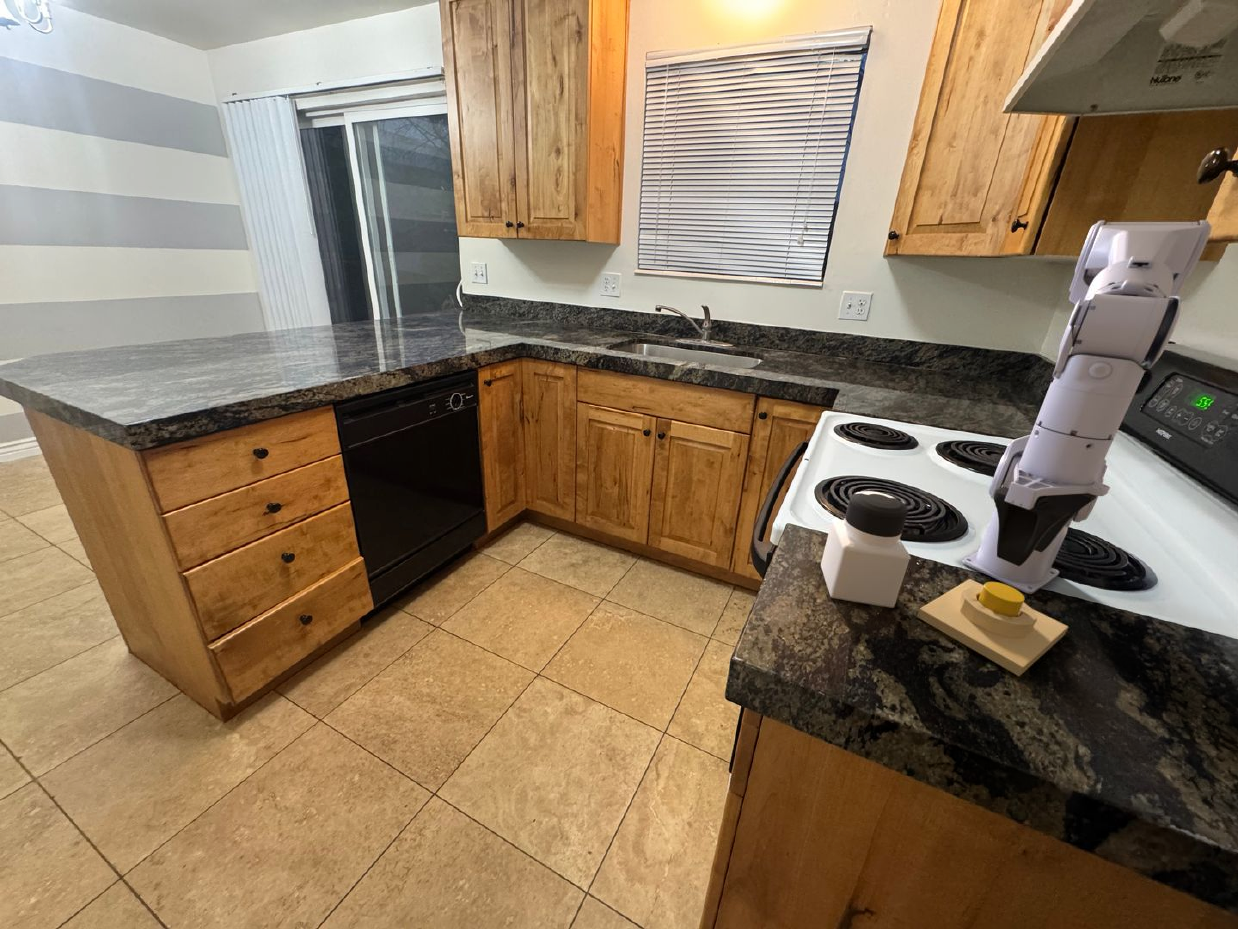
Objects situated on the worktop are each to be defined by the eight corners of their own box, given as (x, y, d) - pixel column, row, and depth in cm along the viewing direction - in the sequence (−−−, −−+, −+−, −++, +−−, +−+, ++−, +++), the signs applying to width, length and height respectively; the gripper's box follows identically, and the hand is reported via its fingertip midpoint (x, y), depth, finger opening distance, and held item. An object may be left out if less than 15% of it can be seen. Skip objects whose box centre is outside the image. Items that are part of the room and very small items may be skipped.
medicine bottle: (894, 609, 57) (925, 517, 52) (829, 599, 58) (854, 508, 54) (877, 574, 63) (903, 490, 59) (819, 565, 65) (840, 482, 60)
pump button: (986, 593, 57) (993, 578, 56) (1023, 611, 54) (1030, 595, 53) (972, 602, 55) (978, 587, 54) (1009, 622, 52) (1016, 606, 51)
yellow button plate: (966, 586, 62) (974, 566, 61) (1064, 635, 55) (1075, 613, 53) (916, 617, 56) (924, 595, 55) (1019, 677, 48) (1030, 653, 47)
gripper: (1102, 455, 40) (1038, 595, 45) (1153, 432, 47) (1093, 554, 52) (1002, 429, 45) (955, 557, 50) (1062, 412, 53) (1016, 525, 58)
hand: (1020, 553), depth 52 cm, fingers open, 5 cm apart
